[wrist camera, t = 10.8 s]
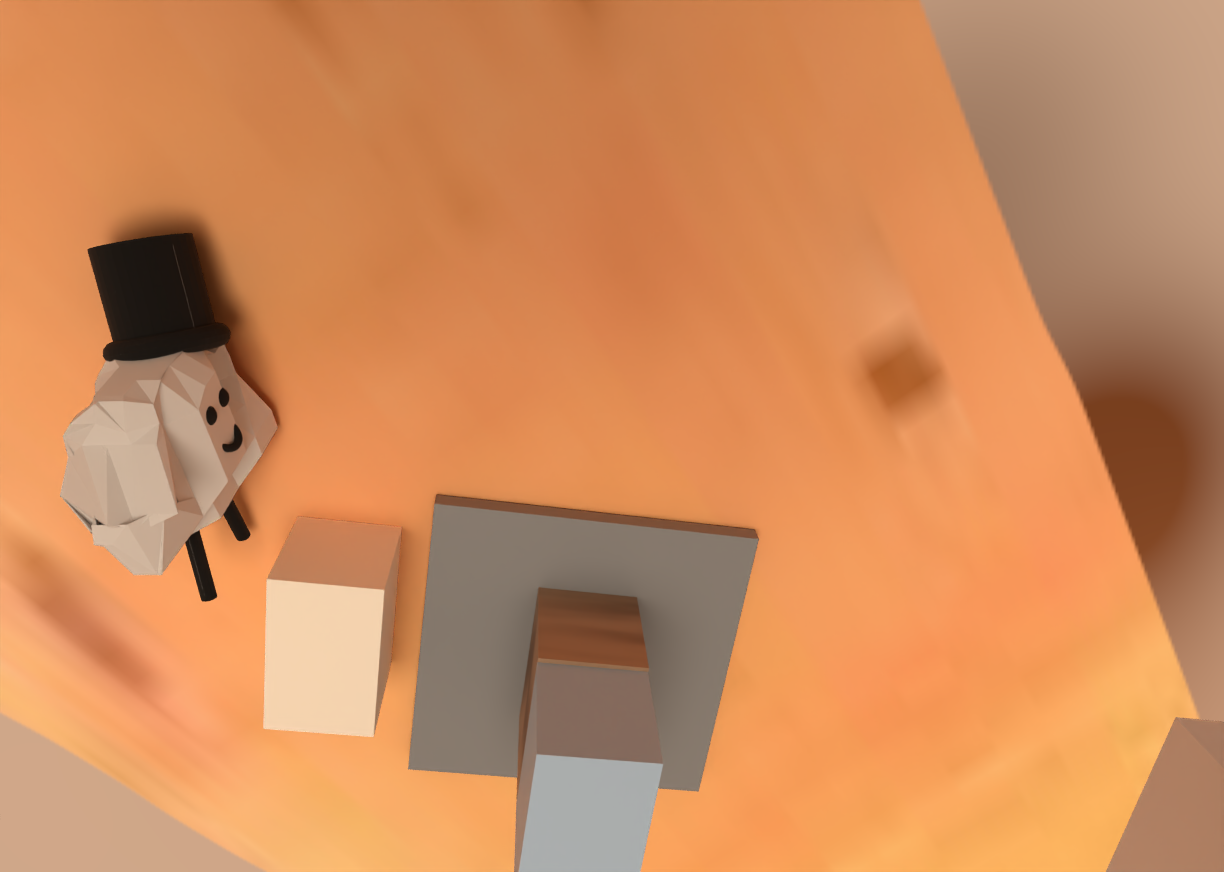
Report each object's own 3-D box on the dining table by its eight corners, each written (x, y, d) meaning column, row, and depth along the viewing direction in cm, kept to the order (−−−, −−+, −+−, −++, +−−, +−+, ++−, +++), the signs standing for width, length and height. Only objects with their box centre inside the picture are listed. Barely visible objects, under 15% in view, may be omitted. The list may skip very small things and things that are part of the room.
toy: (98, 657, 41) (-84, 355, 32) (210, 478, 51) (94, 206, 42) (239, 657, 40) (94, 350, 32) (326, 476, 50) (233, 199, 41)
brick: (298, 515, 48) (266, 579, 42) (402, 525, 48) (384, 589, 43) (293, 652, 51) (263, 728, 45) (391, 660, 51) (373, 736, 46)
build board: (436, 494, 48) (434, 503, 47) (754, 529, 50) (758, 538, 49) (410, 756, 53) (408, 769, 53) (695, 778, 55) (698, 791, 54)
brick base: (538, 587, 49) (538, 658, 43) (636, 597, 49) (648, 668, 44) (519, 717, 52) (516, 799, 46) (612, 725, 52) (620, 806, 47)
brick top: (537, 662, 43) (536, 754, 38) (648, 671, 44) (663, 764, 38) (516, 803, 46) (513, 907, 41) (620, 810, 47) (631, 914, 41)
